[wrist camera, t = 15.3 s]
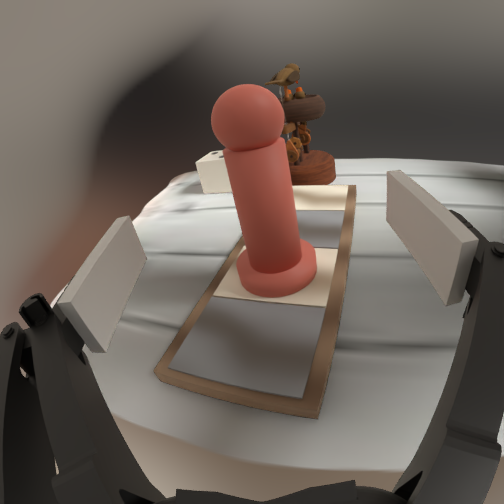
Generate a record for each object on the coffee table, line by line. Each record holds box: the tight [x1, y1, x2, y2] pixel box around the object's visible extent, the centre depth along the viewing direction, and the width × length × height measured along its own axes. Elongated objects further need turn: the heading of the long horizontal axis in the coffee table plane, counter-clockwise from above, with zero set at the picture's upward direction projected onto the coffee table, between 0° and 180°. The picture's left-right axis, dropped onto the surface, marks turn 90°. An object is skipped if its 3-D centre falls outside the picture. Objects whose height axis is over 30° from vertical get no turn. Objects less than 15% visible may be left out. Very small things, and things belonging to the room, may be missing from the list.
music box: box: [265, 64, 336, 186], centre depth 45 cm, size 15×11×20 cm
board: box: [154, 185, 356, 419], centre depth 30 cm, size 33×12×2 cm, turn 160°
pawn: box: [211, 84, 317, 297], centre depth 23 cm, size 7×7×16 cm
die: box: [196, 150, 232, 194], centre depth 51 cm, size 6×6×6 cm
